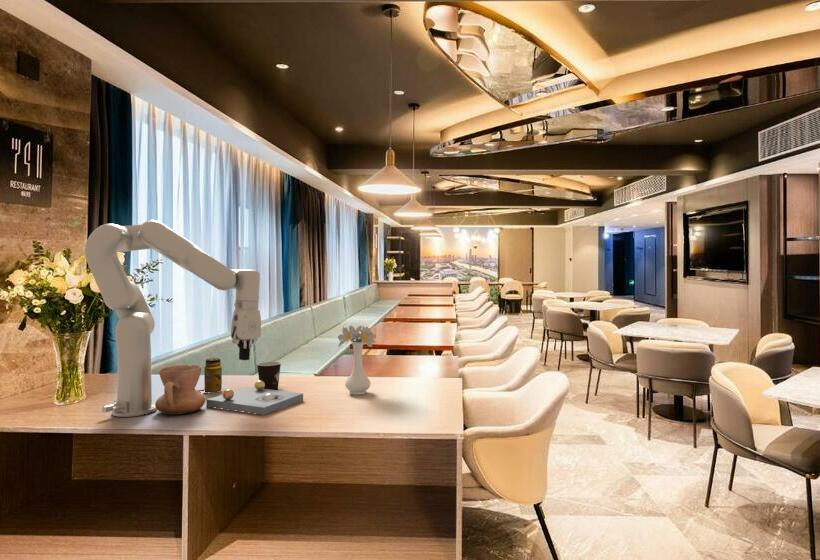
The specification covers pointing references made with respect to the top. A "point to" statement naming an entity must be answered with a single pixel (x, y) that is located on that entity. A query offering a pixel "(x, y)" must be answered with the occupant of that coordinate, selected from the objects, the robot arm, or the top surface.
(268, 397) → the steel ball
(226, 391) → the copper ball
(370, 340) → the flower vase
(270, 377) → the coffee mug
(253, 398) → the grey flat board
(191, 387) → the ceramic jug
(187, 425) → the top surface
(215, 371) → the condiment
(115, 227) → the robot arm
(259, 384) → the brass ball
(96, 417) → the top surface
